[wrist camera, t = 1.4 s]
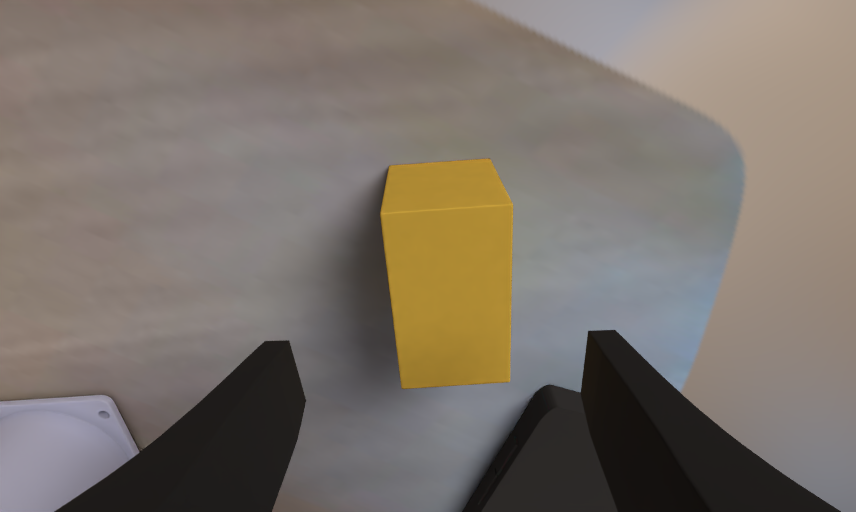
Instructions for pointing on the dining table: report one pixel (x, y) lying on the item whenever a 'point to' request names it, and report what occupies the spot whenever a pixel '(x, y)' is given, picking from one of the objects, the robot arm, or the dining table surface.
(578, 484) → the smart home device
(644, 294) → the dining table surface
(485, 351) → the yellow block
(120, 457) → the robot arm
